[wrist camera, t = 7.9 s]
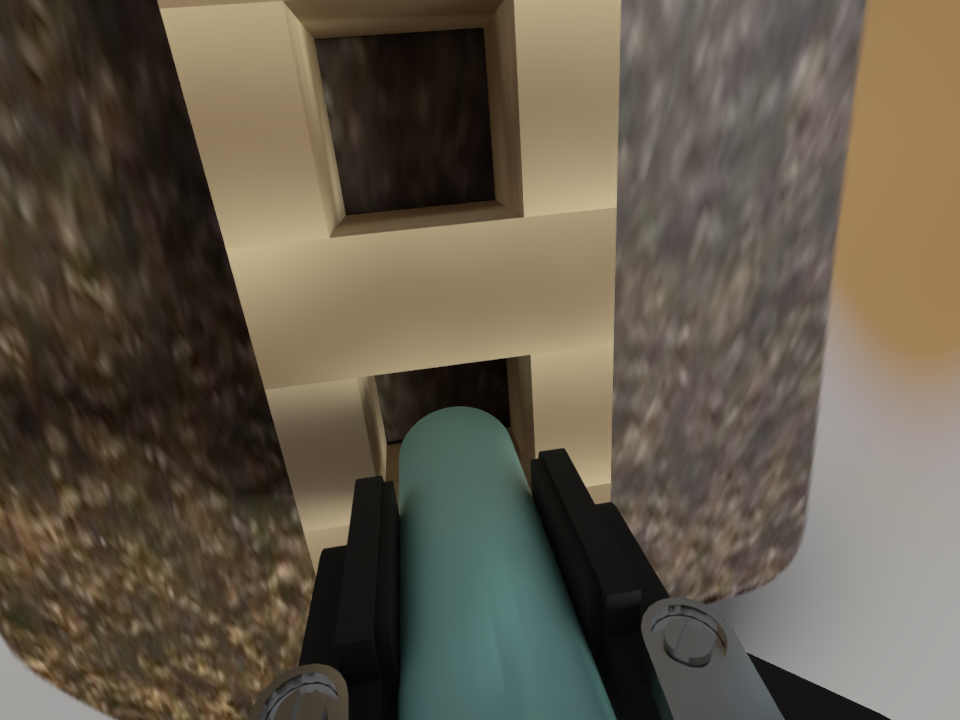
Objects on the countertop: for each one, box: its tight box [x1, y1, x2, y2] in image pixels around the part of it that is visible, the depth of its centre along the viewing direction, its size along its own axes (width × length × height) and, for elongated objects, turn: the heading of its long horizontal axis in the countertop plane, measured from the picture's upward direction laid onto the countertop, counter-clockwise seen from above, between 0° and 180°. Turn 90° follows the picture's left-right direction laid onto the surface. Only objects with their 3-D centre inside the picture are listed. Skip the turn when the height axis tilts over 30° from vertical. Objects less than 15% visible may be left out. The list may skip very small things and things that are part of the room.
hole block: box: [157, 0, 621, 575], centre depth 14 cm, size 16×9×4 cm, turn 5°
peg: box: [398, 406, 617, 720], centre depth 9 cm, size 3×3×10 cm
